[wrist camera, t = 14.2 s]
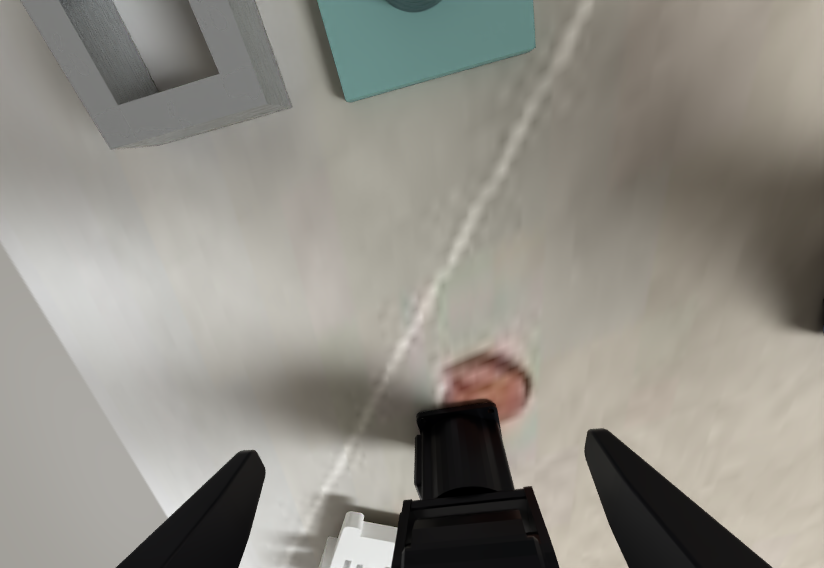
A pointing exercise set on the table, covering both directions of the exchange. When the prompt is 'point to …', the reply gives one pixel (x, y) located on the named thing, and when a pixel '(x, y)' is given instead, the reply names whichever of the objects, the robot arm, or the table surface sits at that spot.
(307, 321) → the table surface
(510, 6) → the rubber mat
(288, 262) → the table surface
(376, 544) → the organizer
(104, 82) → the collar
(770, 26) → the table surface
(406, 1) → the steel rod
